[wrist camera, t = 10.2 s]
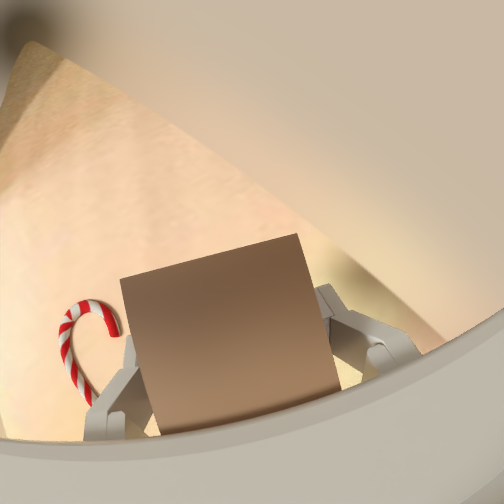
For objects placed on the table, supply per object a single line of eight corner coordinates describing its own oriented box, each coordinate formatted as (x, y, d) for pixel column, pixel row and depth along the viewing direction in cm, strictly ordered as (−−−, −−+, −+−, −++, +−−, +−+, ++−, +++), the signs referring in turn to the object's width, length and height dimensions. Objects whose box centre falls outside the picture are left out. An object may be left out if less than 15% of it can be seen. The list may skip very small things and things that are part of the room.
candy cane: (104, 451, 23) (45, 317, 26) (109, 447, 24) (51, 318, 27) (167, 432, 24) (101, 288, 27) (170, 428, 25) (107, 290, 28)
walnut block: (288, 361, 16) (346, 408, 7) (209, 381, 16) (167, 452, 6) (266, 284, 17) (297, 233, 7) (188, 304, 17) (119, 279, 7)
